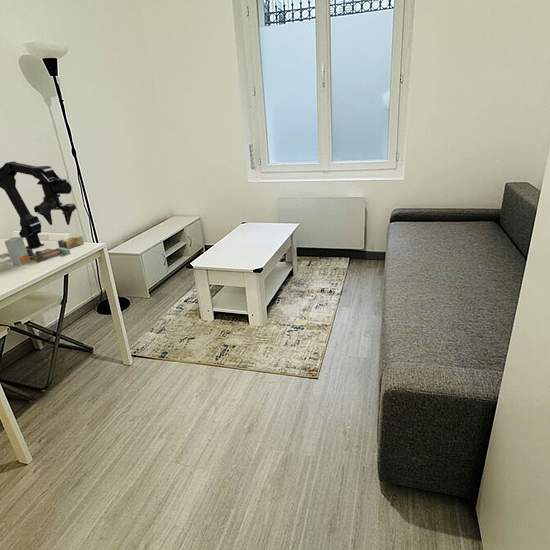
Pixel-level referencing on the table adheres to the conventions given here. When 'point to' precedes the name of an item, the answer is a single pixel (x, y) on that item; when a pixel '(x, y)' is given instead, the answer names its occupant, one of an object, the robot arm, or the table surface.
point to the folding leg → (71, 242)
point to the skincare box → (17, 251)
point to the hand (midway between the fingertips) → (59, 224)
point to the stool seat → (43, 254)
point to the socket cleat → (64, 251)
